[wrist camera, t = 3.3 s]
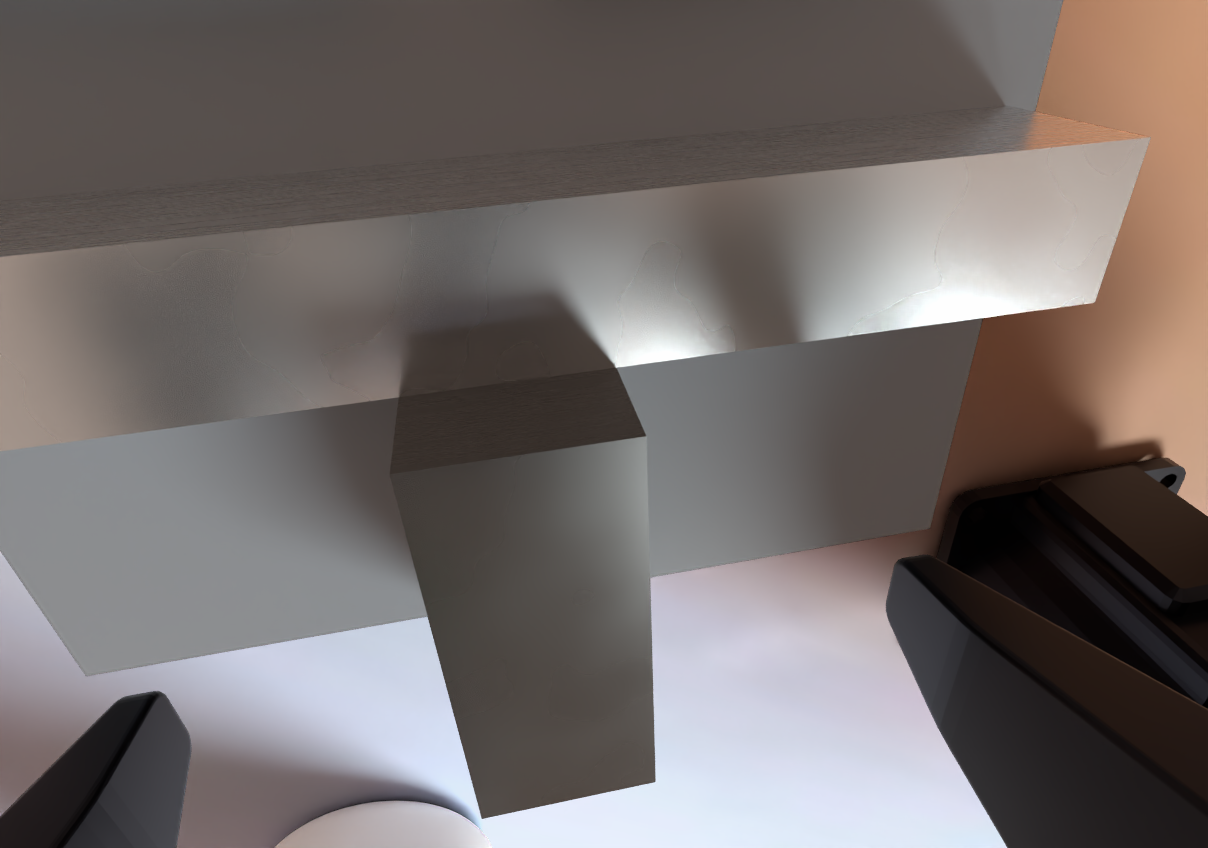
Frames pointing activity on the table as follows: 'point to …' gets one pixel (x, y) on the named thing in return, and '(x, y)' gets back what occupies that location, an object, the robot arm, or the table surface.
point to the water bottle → (388, 828)
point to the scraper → (537, 349)
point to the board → (445, 130)
